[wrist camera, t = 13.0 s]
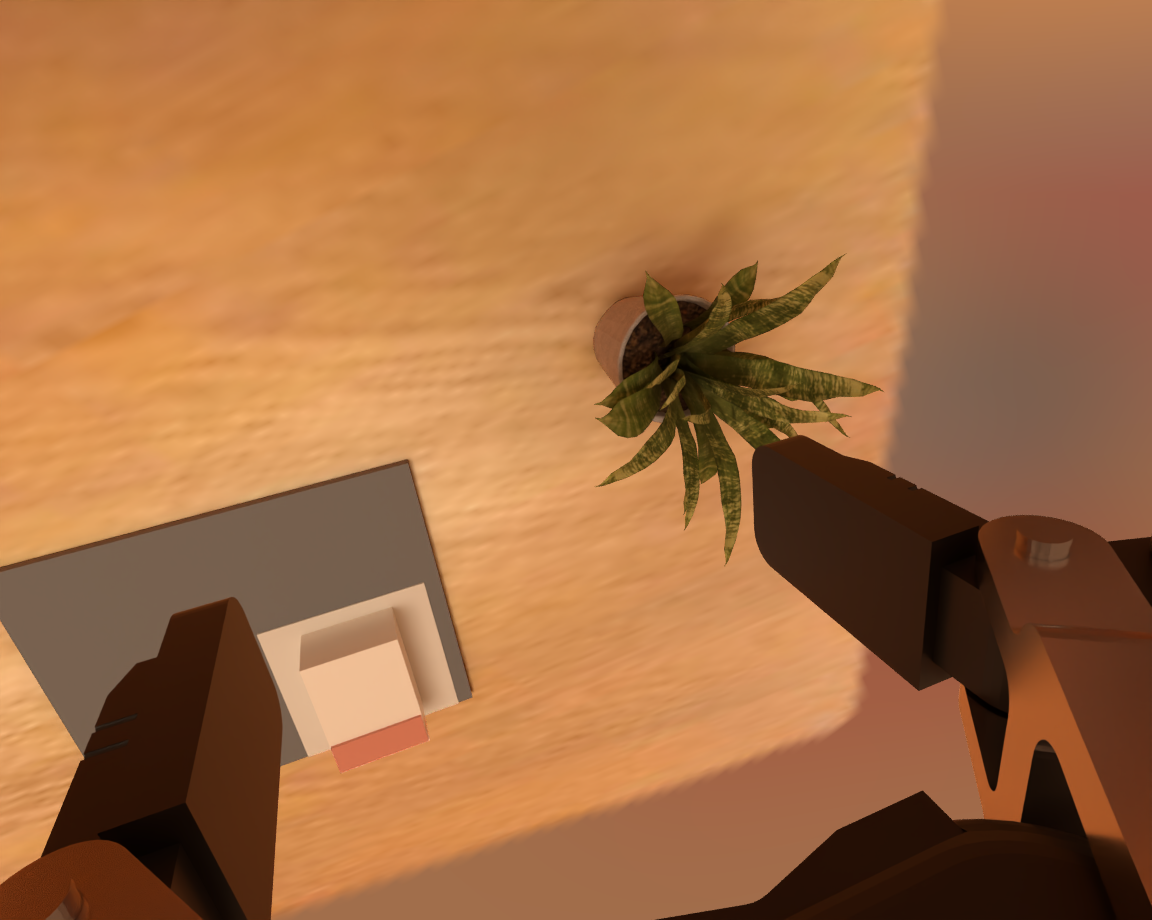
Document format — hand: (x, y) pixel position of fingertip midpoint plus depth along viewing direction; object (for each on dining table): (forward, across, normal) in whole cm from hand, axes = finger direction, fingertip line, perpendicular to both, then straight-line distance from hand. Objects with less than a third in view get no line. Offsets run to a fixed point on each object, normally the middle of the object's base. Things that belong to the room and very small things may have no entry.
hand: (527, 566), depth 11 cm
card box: (+29, +6, +23) cm, 38 cm away
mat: (+30, +12, +19) cm, 37 cm away
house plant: (+30, -13, +6) cm, 34 cm away
